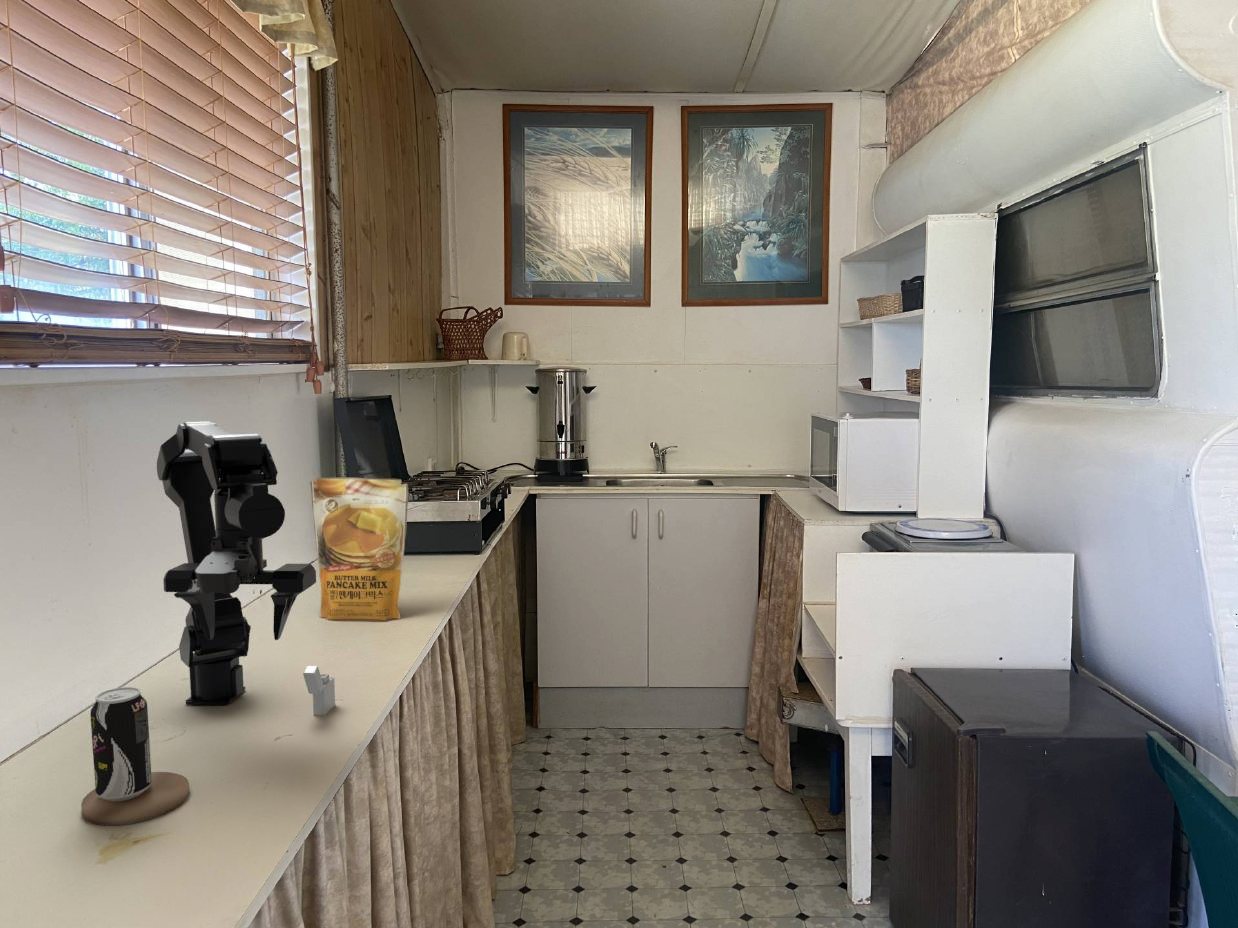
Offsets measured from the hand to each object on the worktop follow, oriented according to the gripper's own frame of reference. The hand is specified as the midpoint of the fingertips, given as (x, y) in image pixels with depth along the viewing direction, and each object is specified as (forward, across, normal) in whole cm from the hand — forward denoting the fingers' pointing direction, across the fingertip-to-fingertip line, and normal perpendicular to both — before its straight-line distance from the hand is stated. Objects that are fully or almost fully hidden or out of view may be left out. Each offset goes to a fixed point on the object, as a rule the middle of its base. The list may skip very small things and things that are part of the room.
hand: (244, 639), depth 124 cm
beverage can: (+12, -6, -20) cm, 25 cm away
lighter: (+13, +8, +6) cm, 17 cm away
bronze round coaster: (+13, -4, -20) cm, 25 cm away
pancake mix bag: (+13, -1, +56) cm, 58 cm away
